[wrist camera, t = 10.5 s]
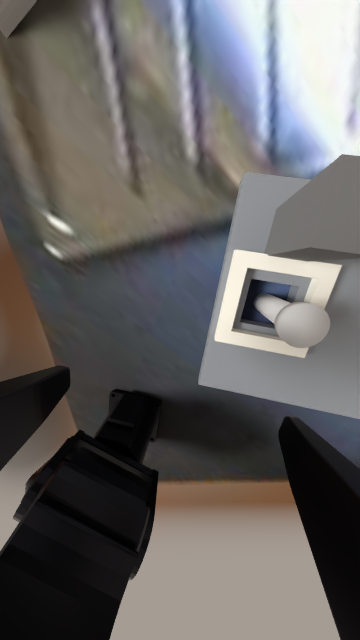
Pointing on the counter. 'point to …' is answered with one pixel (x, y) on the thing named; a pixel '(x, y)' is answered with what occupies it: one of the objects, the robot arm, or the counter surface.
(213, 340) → the hook board
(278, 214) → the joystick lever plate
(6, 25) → the white gabled carton
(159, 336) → the counter surface
